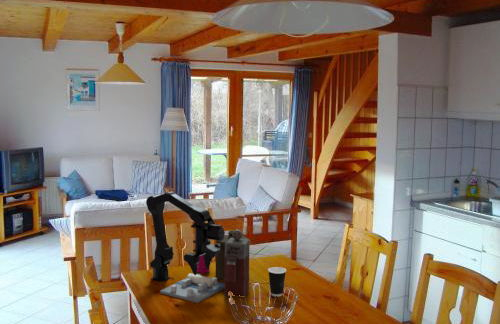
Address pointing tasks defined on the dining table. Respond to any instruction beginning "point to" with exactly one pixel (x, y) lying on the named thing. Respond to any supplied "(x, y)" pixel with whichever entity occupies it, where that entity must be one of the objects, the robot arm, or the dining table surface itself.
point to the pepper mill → (202, 265)
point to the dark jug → (237, 265)
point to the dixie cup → (276, 280)
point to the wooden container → (222, 256)
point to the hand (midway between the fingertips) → (201, 272)
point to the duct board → (195, 292)
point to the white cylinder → (200, 279)
